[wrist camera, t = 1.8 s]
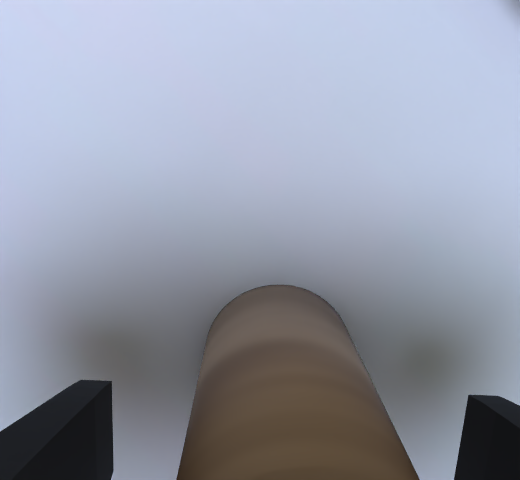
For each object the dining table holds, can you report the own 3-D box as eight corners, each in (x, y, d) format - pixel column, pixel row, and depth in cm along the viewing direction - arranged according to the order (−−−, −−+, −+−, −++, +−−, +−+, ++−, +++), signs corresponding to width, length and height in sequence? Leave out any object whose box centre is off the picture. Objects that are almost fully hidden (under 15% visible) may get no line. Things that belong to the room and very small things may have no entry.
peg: (343, 421, 14) (437, 716, 7) (203, 416, 13) (153, 710, 7) (356, 288, 13) (481, 471, 6) (207, 281, 12) (153, 461, 6)
